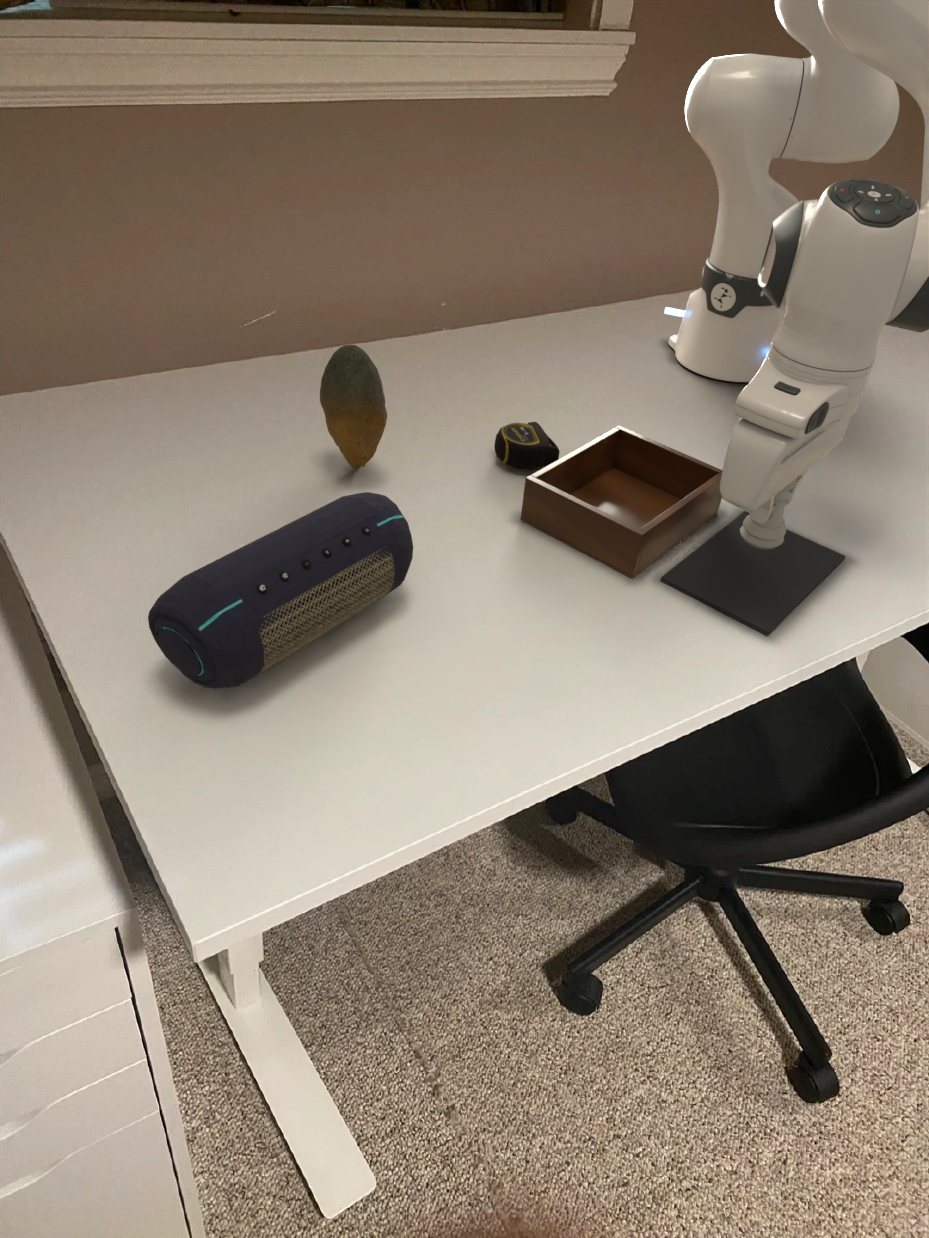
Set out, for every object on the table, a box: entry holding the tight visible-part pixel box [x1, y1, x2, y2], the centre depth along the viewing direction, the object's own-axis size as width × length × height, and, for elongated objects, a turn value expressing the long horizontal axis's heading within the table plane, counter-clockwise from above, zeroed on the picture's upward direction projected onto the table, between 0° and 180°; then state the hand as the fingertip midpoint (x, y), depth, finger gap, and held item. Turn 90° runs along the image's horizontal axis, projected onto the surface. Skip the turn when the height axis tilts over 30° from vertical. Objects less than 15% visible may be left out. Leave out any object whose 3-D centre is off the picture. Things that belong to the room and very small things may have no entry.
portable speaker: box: [147, 491, 414, 690], centre depth 80 cm, size 25×10×10 cm, turn 139°
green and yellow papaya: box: [319, 344, 388, 473], centre depth 100 cm, size 10×6×15 cm, turn 37°
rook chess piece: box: [740, 479, 798, 549], centre depth 90 cm, size 4×4×8 cm
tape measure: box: [494, 421, 560, 471], centre depth 108 cm, size 7×7×4 cm
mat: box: [659, 510, 847, 637], centre depth 95 cm, size 18×12×1 cm, turn 138°
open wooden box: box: [519, 425, 723, 579], centre depth 99 cm, size 18×15×5 cm
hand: (769, 511), depth 91 cm, fingers closed on rook chess piece, 3 cm apart
